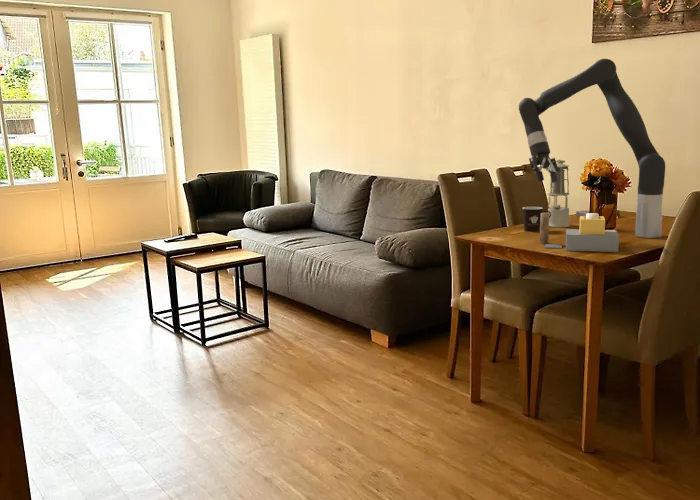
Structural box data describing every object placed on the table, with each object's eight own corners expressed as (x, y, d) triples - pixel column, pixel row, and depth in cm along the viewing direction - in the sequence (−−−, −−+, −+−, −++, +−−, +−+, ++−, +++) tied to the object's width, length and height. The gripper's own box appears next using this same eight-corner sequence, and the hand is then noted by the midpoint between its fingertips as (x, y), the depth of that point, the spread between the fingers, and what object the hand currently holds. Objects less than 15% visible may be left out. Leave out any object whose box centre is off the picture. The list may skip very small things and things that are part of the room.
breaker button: (597, 232, 240) (598, 213, 239) (598, 234, 236) (599, 214, 235) (585, 232, 242) (585, 212, 240) (585, 234, 237) (586, 214, 236)
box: (620, 216, 309) (620, 210, 308) (587, 219, 306) (587, 213, 305) (607, 214, 319) (607, 208, 319) (575, 217, 316) (575, 210, 316)
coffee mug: (519, 231, 279) (520, 208, 277) (524, 228, 286) (524, 206, 284) (547, 233, 273) (547, 209, 271) (550, 229, 281) (551, 207, 279)
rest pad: (561, 245, 246) (561, 244, 246) (561, 248, 241) (561, 247, 241) (545, 245, 248) (545, 244, 248) (545, 248, 242) (545, 247, 242)
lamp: (543, 226, 289) (544, 160, 284) (552, 222, 300) (554, 158, 294) (566, 228, 284) (568, 160, 278) (574, 223, 294) (577, 158, 288)
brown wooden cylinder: (548, 242, 253) (549, 212, 250) (548, 244, 250) (549, 213, 247) (539, 242, 253) (540, 212, 251) (539, 244, 250) (540, 213, 248)
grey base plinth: (615, 245, 243) (616, 215, 241) (618, 251, 232) (619, 220, 229) (565, 244, 248) (566, 215, 246) (566, 250, 237) (567, 219, 235)
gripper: (534, 139, 254) (544, 177, 251) (556, 142, 263) (566, 179, 259) (520, 147, 260) (529, 184, 256) (542, 150, 268) (552, 185, 265)
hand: (548, 181), depth 258 cm, fingers open, 8 cm apart
